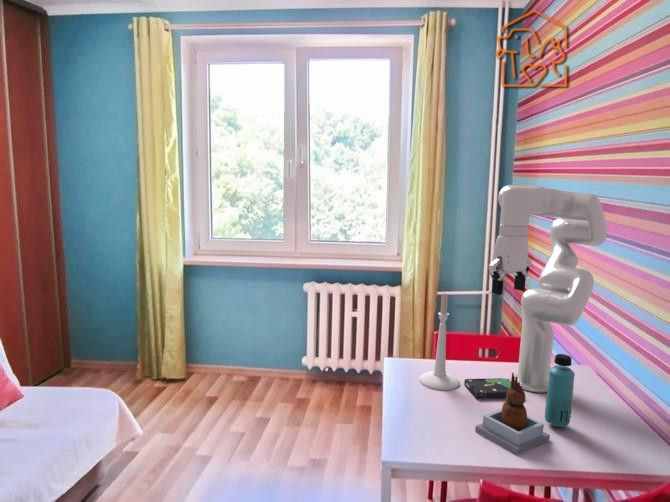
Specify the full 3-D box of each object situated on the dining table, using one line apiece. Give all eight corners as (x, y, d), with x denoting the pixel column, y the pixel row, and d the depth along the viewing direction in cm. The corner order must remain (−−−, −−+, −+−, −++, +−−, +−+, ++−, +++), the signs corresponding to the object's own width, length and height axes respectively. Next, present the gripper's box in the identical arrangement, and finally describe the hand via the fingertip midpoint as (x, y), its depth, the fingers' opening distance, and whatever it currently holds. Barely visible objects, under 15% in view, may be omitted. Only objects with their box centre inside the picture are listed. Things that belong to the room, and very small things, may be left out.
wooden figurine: (497, 423, 134) (502, 369, 132) (519, 423, 134) (524, 370, 132) (505, 436, 127) (510, 380, 125) (528, 437, 127) (534, 381, 125)
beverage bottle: (558, 434, 132) (566, 362, 129) (537, 422, 138) (544, 353, 135) (575, 429, 135) (583, 358, 132) (554, 418, 141) (561, 349, 138)
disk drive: (476, 401, 151) (522, 399, 153) (476, 392, 151) (523, 391, 152) (463, 386, 161) (507, 385, 163) (463, 378, 161) (508, 377, 163)
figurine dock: (506, 418, 140) (508, 403, 139) (549, 440, 129) (551, 424, 128) (475, 431, 132) (476, 415, 132) (517, 455, 122) (518, 437, 121)
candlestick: (457, 375, 168) (463, 288, 163) (461, 392, 156) (468, 298, 151) (418, 372, 170) (423, 286, 165) (419, 388, 158) (425, 295, 153)
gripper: (521, 228, 147) (516, 285, 150) (481, 231, 137) (477, 292, 140) (544, 231, 141) (538, 291, 144) (504, 234, 131) (499, 298, 134)
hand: (508, 291), depth 142 cm, fingers open, 9 cm apart
